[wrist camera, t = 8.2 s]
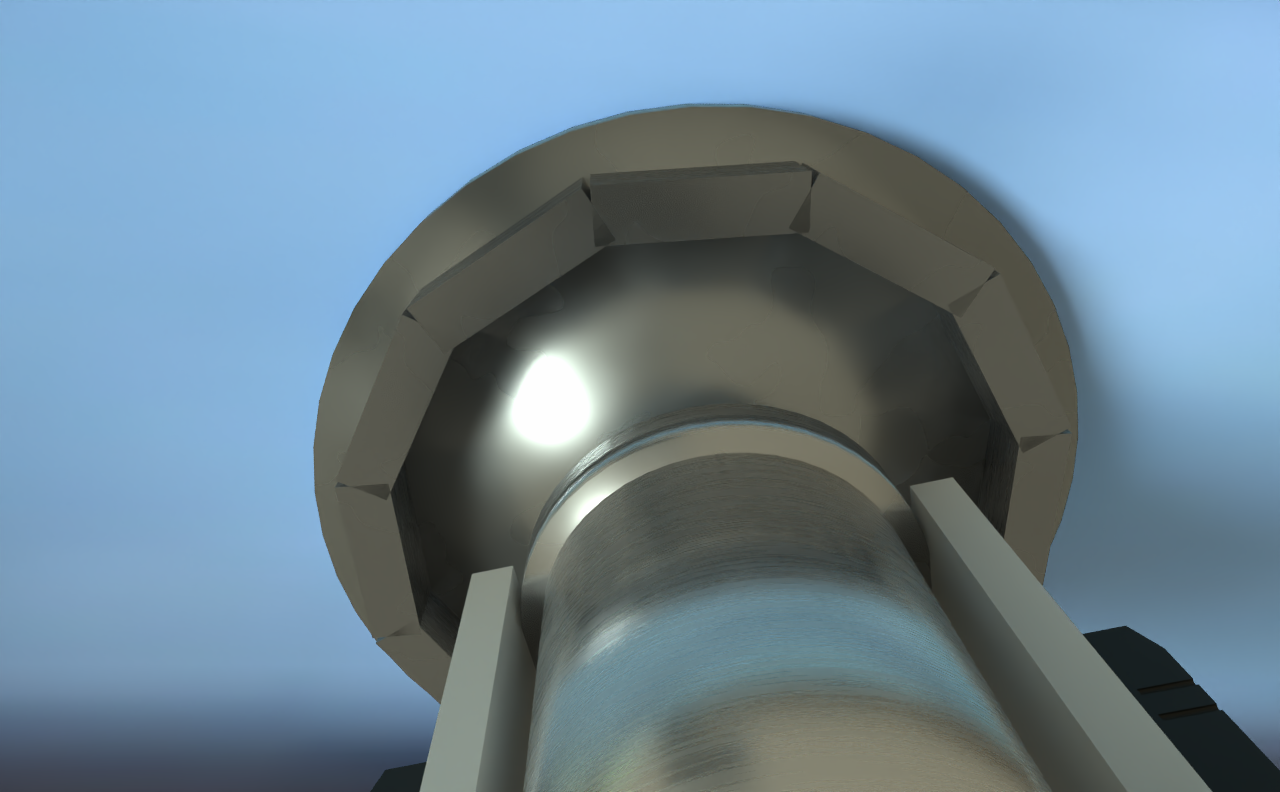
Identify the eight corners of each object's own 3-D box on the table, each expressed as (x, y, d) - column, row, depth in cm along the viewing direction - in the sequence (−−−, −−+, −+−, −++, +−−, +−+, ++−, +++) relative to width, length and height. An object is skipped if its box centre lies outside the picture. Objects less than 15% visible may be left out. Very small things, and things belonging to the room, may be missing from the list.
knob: (478, 449, 13) (267, 1107, 5) (900, 365, 13) (1421, 922, 5) (576, 749, 16) (544, 1479, 8) (922, 687, 16) (1265, 1379, 8)
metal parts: (502, -76, 13) (426, -174, 7) (1213, 328, 16) (1539, 478, 11) (147, 865, 21) (-16, 1161, 16) (663, 994, 25) (682, 1271, 19)
